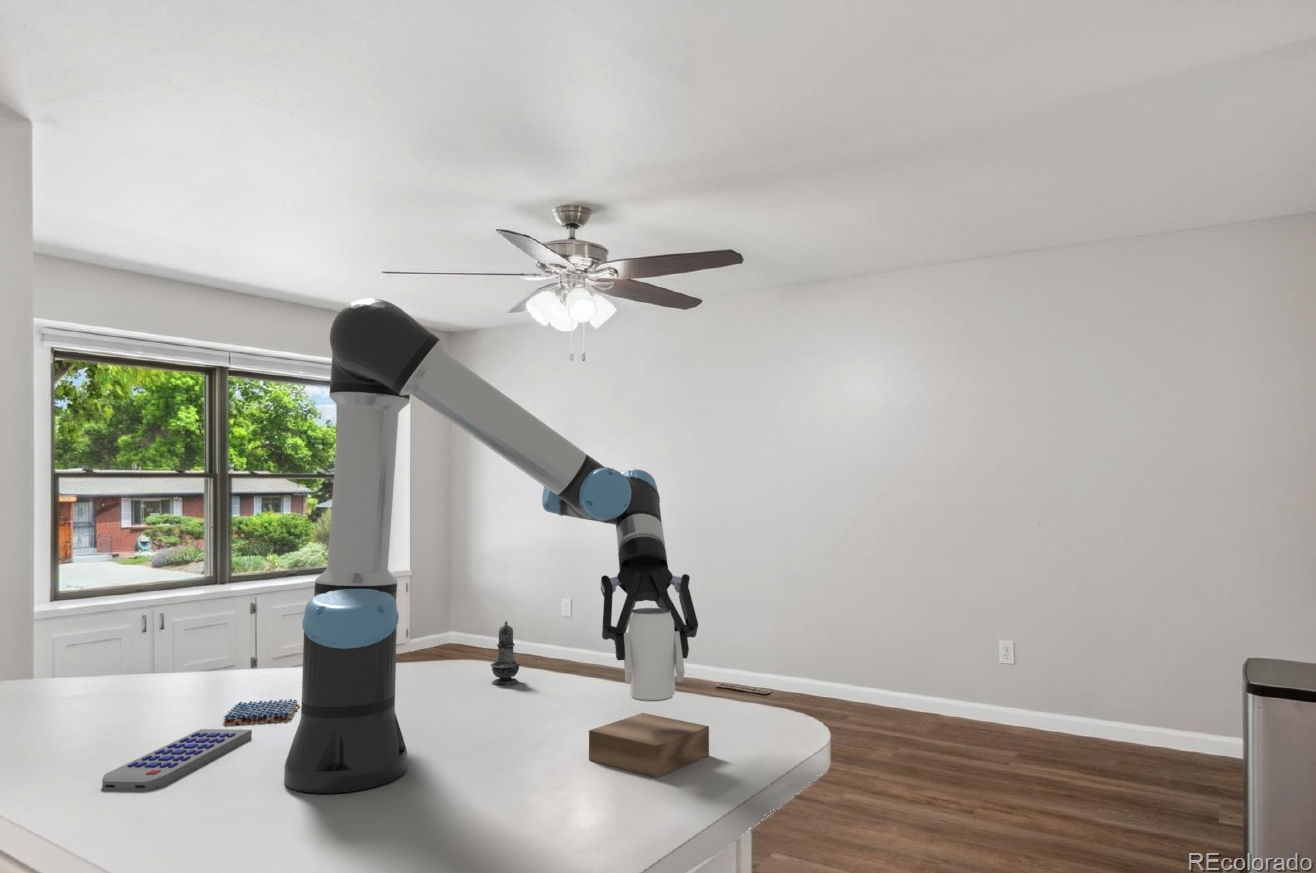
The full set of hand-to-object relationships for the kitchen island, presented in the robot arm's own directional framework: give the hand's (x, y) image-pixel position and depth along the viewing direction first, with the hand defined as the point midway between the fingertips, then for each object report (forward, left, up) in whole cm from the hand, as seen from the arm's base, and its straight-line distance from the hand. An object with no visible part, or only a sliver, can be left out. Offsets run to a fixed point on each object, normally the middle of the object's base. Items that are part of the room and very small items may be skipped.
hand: (655, 677), depth 114 cm
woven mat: (-20, +68, -13) cm, 72 cm away
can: (+3, +3, -4) cm, 5 cm away
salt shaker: (+22, +55, -12) cm, 60 cm away
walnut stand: (+2, +3, -12) cm, 12 cm away
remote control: (-39, +53, -12) cm, 67 cm away
